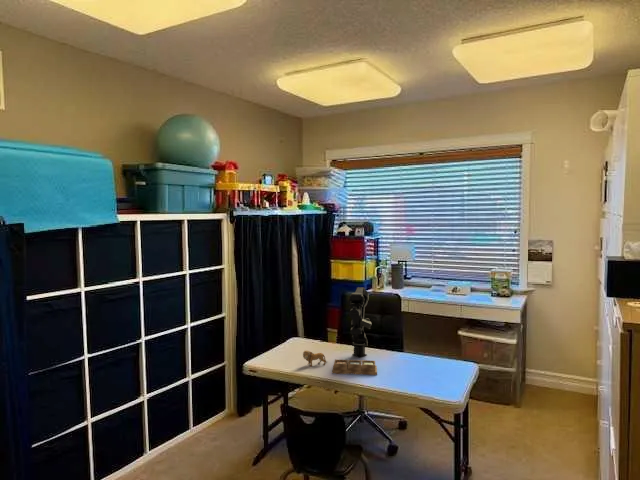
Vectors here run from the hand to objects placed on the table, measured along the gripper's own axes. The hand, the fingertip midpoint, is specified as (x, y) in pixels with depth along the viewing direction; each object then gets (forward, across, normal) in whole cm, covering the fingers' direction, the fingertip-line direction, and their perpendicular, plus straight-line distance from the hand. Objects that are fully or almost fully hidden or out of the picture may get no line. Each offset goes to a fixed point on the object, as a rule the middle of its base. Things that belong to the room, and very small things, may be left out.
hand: (356, 342), depth 254 cm
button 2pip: (+10, -13, -7) cm, 18 cm away
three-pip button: (+10, -13, +8) cm, 19 cm away
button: (+10, -13, +1) cm, 17 cm away
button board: (+12, -13, +1) cm, 18 cm away
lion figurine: (+12, -6, +24) cm, 27 cm away
